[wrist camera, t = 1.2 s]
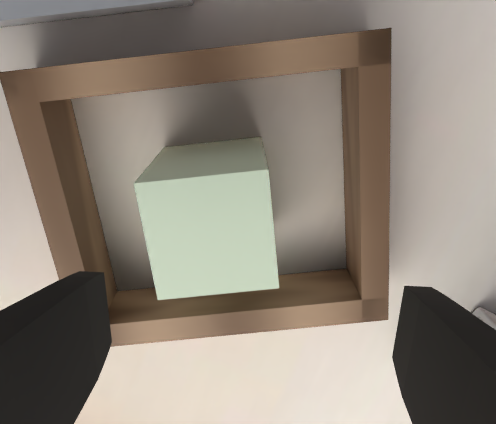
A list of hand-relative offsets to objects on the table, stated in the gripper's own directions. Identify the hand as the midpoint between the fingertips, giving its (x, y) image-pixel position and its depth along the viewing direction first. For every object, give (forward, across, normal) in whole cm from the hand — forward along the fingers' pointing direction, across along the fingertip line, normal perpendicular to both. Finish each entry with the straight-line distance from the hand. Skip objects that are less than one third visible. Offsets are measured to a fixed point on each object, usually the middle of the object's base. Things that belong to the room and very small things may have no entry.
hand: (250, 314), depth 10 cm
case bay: (+11, +2, 0) cm, 11 cm away
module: (+11, +2, 0) cm, 11 cm away
